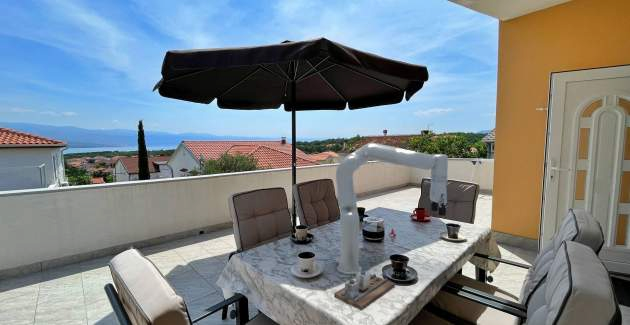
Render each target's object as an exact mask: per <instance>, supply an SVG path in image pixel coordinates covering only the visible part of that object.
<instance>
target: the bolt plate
mask: <svg viewBox="0 0 630 325" xmlns="http://www.w3.org/2000/svg"><path fill="white" fill-rule="evenodd" d="M395 287H396V283H395V282H392V281H390V280H389V279H388V278H385V279H384V278H382V277H379V276H377V274H375V273H374V274H371V273H370V287H368V288H367V289H365V290H364V291H363V290H361V289H359V283H358V282H356V280H354V279H349V280H347V281H345V282H344V287H343V288H341V289H339V290H337V291H335V292H334V293H333V297H334V298H336V299H338V300H340V301H342V302H343V303H346V304H348V305H350V306H352V307H354V308H356V309H357V310H360V311H362V310H364V309H365V308H367V307H368V306H369V305H371V304H372V303H374V302H375V301H376V300H378V299H380V298H381V297H382V296H383V295H386V293H388V292H389V291H391V290H392V289H393V288H395Z"/></svg>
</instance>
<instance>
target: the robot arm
mask: <svg viewBox="0 0 630 325" xmlns="http://www.w3.org/2000/svg"><path fill="white" fill-rule="evenodd" d="M371 160H372V161H377V162H383V163H386V164H387V163H388V164H392V165H397V166H407V167H411V168H415V169H421V170H427V171H428V170H430V188H429V199H430V202H431V203H430V204H431V205H430V210H431V212H438V216H442V217H443V216H446V215H447V203H448V199H447V197H448V196H447V183H448V171H449V170H448V168H449V167H448V165H449V162H448V161H449V158H448V155H447V154H443V153H442V154H441V153H434V154H429V153H424V152H420V151H414V150H410V149H406V148H402V147H397V146H393V145H385V144H382V143H376V142H368V143H366V144H364V145H363V146H361V147H360V148H358V149H356V150H355V151H353V152H351V153H350V154H348V155H346V156H345V158H343V159H342V160H341V161H340V162H339V163H338V166H337V168H336V171H335V180H336V190H337V200H338V205H339V213H340V218H339V219H340V220H339V223H340V224H339V226H340V232H339V233H340V235H339V236H340V237H339V239H340V241H339V242H340V243H339V244H340V253H339V254H340V256H337V257H336V259H335V262H336V263H338V264H337V267H336V268H337V270H338V271H339V273H341V274H345V275H356V273H358V272H360V271H362V270H363V268H362V265H361V264H360V263H359V262H360V261H359V260H360V259H359V258H360V252H359V251H360V250H359V249H360V248H359V247H360V241H359V239H360V216H359V212H358V205H357V194H356V192H355V187H354V179H353V178H354V177H353V176H354V173H355V171H358V170H359V169H360V167H361V166H363V165H364V164H367V163H368V162H369V161H371Z"/></svg>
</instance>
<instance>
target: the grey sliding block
mask: <svg viewBox="0 0 630 325" xmlns="http://www.w3.org/2000/svg"><path fill="white" fill-rule="evenodd" d="M370 274H371V273H370V272H368V271H367V270H363V269H362V271H360V272H358V273H356V274H355V281H356V282H358V283H359V289H361V290H363V291H364V290H365V289H367V288H368V287H370Z"/></svg>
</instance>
